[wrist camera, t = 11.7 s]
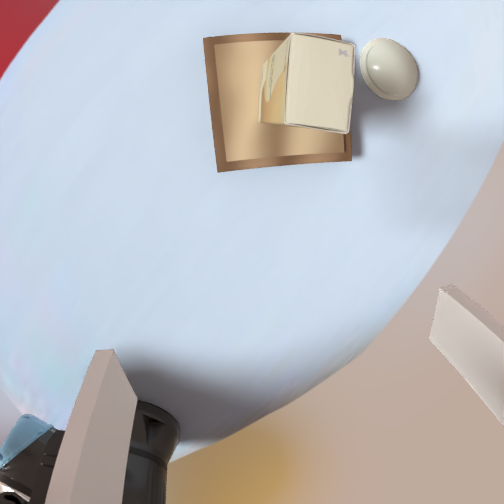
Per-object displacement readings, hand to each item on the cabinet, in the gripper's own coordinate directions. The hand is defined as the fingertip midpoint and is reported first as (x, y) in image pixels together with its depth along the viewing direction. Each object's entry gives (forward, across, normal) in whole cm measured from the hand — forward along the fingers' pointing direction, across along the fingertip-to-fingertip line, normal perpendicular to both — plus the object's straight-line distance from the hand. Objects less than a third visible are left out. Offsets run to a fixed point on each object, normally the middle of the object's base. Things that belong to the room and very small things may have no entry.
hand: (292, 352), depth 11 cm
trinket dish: (+24, +20, +15) cm, 34 cm away
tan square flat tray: (+24, +6, +11) cm, 27 cm away
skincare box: (+22, +6, +11) cm, 25 cm away
